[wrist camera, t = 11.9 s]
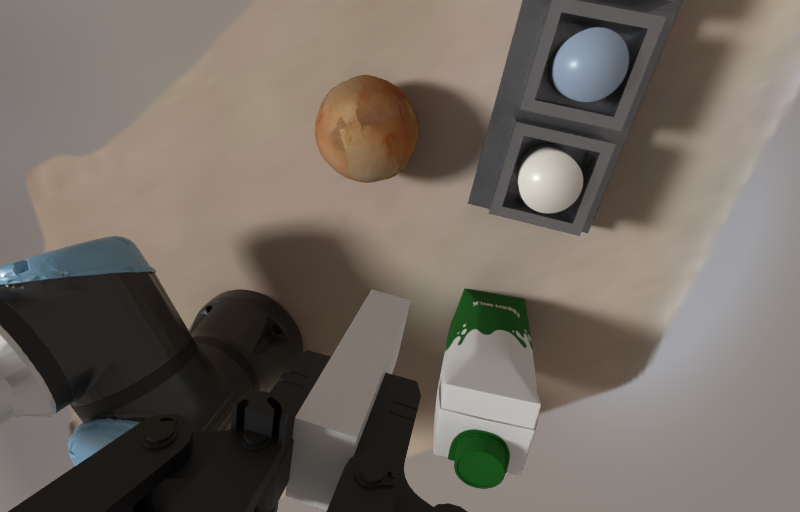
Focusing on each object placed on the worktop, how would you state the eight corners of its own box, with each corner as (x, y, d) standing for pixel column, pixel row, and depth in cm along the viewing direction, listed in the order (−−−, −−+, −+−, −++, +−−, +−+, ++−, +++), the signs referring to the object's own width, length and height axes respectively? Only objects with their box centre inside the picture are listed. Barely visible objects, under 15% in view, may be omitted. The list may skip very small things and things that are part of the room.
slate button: (540, 91, 37) (546, 94, 33) (560, 28, 35) (569, 21, 31) (598, 104, 37) (612, 108, 32) (622, 40, 35) (640, 35, 30)
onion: (390, 190, 48) (365, 216, 39) (319, 133, 47) (276, 146, 38) (445, 118, 44) (431, 129, 35) (368, 54, 43) (333, 48, 34)
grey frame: (469, 196, 46) (464, 218, 39) (559, -134, 35) (574, -190, 27) (582, 223, 45) (598, 251, 38) (714, -111, 33) (774, -162, 26)
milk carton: (447, 343, 54) (421, 477, 36) (458, 279, 50) (435, 392, 32) (518, 357, 53) (528, 505, 35) (535, 292, 49) (555, 419, 31)
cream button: (509, 190, 41) (511, 205, 37) (526, 138, 39) (529, 146, 35) (562, 203, 41) (570, 219, 36) (581, 150, 38) (592, 161, 34)
